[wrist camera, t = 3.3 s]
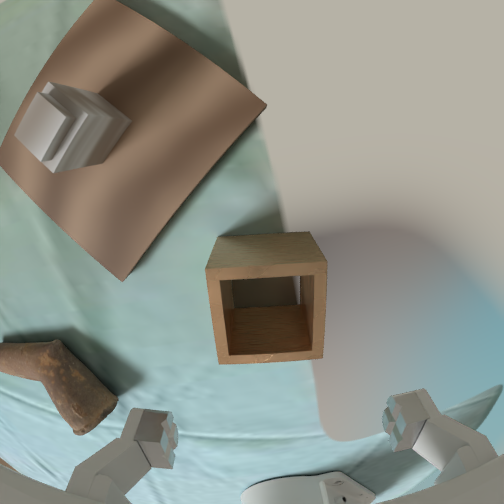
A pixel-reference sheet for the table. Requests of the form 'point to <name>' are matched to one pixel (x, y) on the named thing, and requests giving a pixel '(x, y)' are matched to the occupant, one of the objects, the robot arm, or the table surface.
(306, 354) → the tan hollow cube
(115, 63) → the wavy brown square sheet
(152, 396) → the table surface
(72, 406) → the pipe
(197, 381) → the table surface
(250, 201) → the table surface
